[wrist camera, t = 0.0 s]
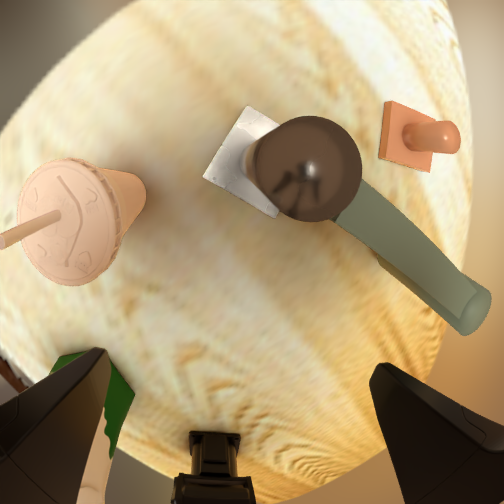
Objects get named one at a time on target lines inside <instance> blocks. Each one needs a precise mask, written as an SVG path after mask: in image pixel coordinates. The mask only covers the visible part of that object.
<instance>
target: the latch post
mask: <svg viewBox="0 0 504 504" xmlns="http://www.w3.org/2000/svg"><path fill="white" fill-rule="evenodd" d="M460 143H461V138H460V133H459V130H458V128H457V127H456V125H455V124H454V123H453V122H451V121H436V120H435V119H433V118H431V117H429V116H427V115H425V114H422V113H420V112H418V111H416V110H413V109H411V108H409V107H406V106H404V105H402V104H399V103H397V102H394V101H389V102H385V104H384V115H383V125H382V134H381V142H380V150H379V157H378V158H381V159H385V160H388V161H391V162H395V163H398V164H401V165H404V166H407V167H410V168H414V169H417V170H419V171H423V172H429V173H430V168H431V161H432V153H433V152H434V153H446V154H454V153H456V152H457V151H458V150H459V148H460Z"/></svg>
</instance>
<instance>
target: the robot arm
mask: <svg viewBox="0 0 504 504" xmlns="http://www.w3.org/2000/svg"><path fill="white" fill-rule="evenodd" d="M110 376H111V366H110V361H109V357H108V352H107V350H105V349H102V348H97V347H94V348H92V349H91V350H89V351H87V352H86V353H84V354H83V355H81V356H79V357H78V358H76V359H75V360H73V361H71V362H70V363H68V364H66V365H65V366H63V367H62V368H60V369H58V370H57V371H55V372H54V373H52V374H50V375H49V376H47V377H46V378H44V379H42V380H41V381H39V382H38V383H36V384H34V385H33V386H31V387H30V388H28V389H26V390H25V391H23V392H22V393H20V394H19V395H18V396H15V397H13V398H12V399H10V400H9V401H7V402H5V403H3V404H2V405H0V504H76V503H77V498H78V494H79V490H80V486H81V482H82V478H83V475H84V471H85V467H86V464H87V460H88V457H89V453H90V450H91V447H92V443H93V440H94V437H95V434H96V431H97V428H98V424H99V421H100V418H101V415H102V412H103V407H104V403H105V398H106V393H107V389H108V385H109V380H110ZM369 387H370V391H371V395H372V399H373V403H374V407H375V411H376V415H377V419H378V422H379V425H380V428H381V431H382V433H383V436H384V439H385V442H386V445H387V448H388V451H389V454H390V457H391V460H392V463H393V466H394V469H395V472H396V475H397V479H398V482H399V485H400V488H401V491H402V495H403V498H404V502H405V504H504V426H503V425H501V424H498V423H496V422H494V421H491V420H489V419H487V418H485V417H483V416H481V415H479V414H477V413H475V412H473V411H471V410H469V409H467V408H466V407H464V406H462V405H460V404H459V403H457V402H455V401H453V400H452V399H450V398H448V397H447V396H445V395H443V394H441V393H439V392H438V391H436V390H434V389H433V388H431V387H429V386H428V385H426V384H424V383H423V382H421V381H419V380H417V379H416V378H414V377H412V376H411V375H409V374H407V373H406V372H404V371H402V370H401V369H399V368H397V367H396V366H394V365H392V364H391V363H388V362H385V363H379V364H378V365H377V366H376V368H375V370H374V372H373V374H372V376H371V378H370V381H369ZM240 439H241V437H240V435H237V434H215V433H201V432H190V433H189V441H190V455H191V456H192V468H191V474H184V473H179V476H178V477H175V478H174V488H173V493H172V497H171V504H256V499H255V494H254V490H253V485H252V480H251V476H246V477H238V476H237V462H236V457H237V453H238V449H239V444H240Z"/></svg>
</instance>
